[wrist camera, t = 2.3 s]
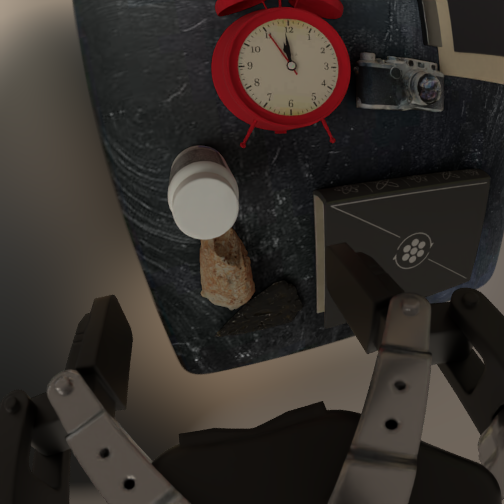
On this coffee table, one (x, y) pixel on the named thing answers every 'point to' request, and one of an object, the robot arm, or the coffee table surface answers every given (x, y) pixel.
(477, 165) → the coffee table surface
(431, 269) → the book
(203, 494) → the robot arm
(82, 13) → the coffee table surface
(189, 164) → the pill bottle
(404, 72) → the camera
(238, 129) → the coffee table surface
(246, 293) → the tan elongated rock
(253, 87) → the alarm clock
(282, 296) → the arrowhead
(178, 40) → the coffee table surface
